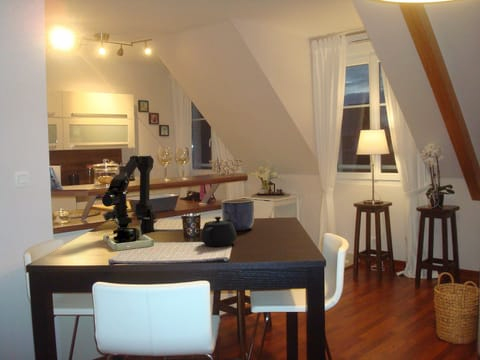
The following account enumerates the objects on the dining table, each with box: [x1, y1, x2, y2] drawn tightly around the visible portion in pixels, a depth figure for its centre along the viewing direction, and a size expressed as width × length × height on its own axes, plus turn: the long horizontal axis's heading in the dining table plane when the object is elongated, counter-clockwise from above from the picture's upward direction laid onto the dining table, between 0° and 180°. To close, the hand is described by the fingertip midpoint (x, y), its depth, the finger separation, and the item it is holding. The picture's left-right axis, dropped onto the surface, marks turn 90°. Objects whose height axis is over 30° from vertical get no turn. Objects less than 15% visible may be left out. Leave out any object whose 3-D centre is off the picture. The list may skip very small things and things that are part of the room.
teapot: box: [200, 216, 238, 248], centre depth 209 cm, size 25×16×12 cm, turn 156°
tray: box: [107, 234, 155, 252], centre depth 215 cm, size 17×16×3 cm
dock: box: [102, 231, 143, 244], centre depth 230 cm, size 16×10×3 cm, turn 116°
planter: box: [221, 198, 255, 232], centre depth 244 cm, size 17×17×15 cm
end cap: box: [112, 226, 140, 244], centre depth 222 cm, size 10×7×7 cm
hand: (122, 236), depth 230 cm, fingers closed
